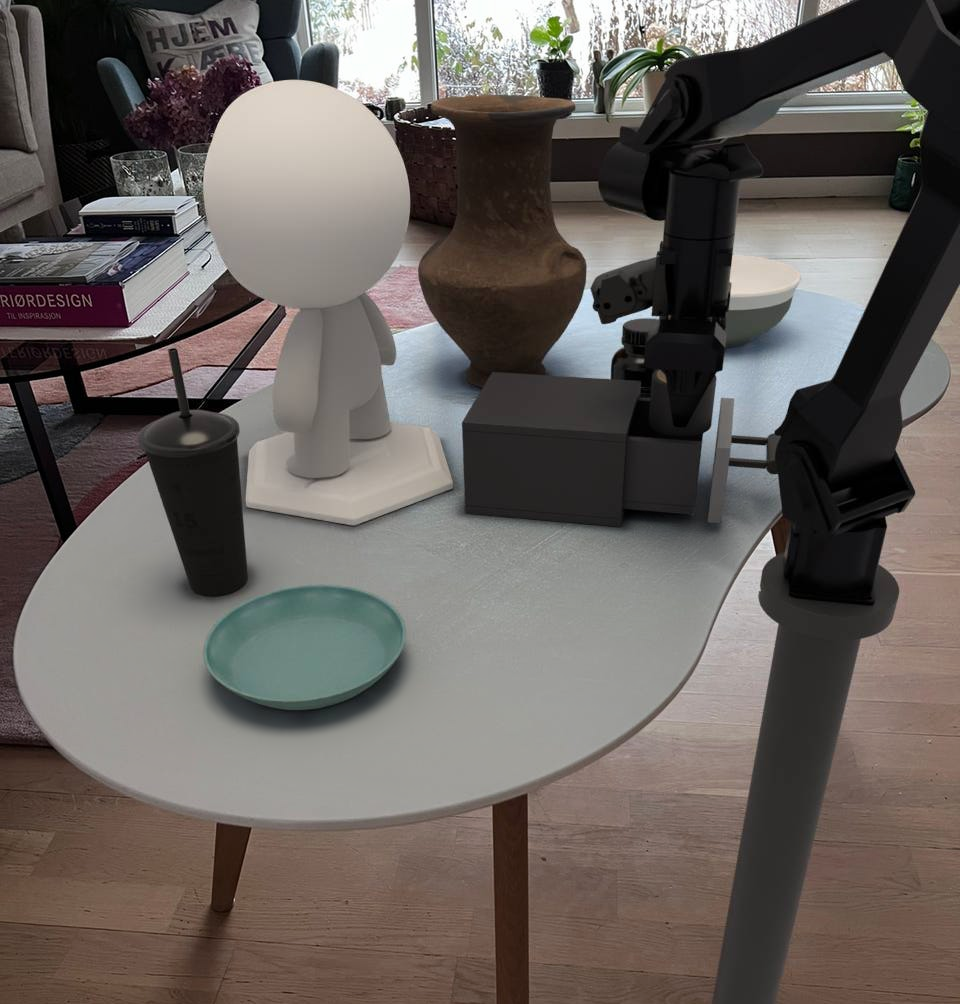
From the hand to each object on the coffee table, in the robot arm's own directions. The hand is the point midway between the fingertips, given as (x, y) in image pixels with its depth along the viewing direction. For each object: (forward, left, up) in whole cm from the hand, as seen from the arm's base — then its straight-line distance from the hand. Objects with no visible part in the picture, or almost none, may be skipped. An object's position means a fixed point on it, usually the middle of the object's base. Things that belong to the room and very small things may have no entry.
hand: (681, 413), depth 92 cm
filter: (0, 0, -1) cm, 1 cm away
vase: (+23, -29, -9) cm, 38 cm away
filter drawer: (0, 0, -8) cm, 8 cm away
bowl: (-2, -48, -9) cm, 49 cm away
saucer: (+25, +32, -9) cm, 41 cm away
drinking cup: (+37, +22, -9) cm, 44 cm away
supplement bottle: (+5, -14, -9) cm, 17 cm away
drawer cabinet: (+12, 0, -9) cm, 14 cm away
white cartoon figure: (+33, 0, -9) cm, 34 cm away
